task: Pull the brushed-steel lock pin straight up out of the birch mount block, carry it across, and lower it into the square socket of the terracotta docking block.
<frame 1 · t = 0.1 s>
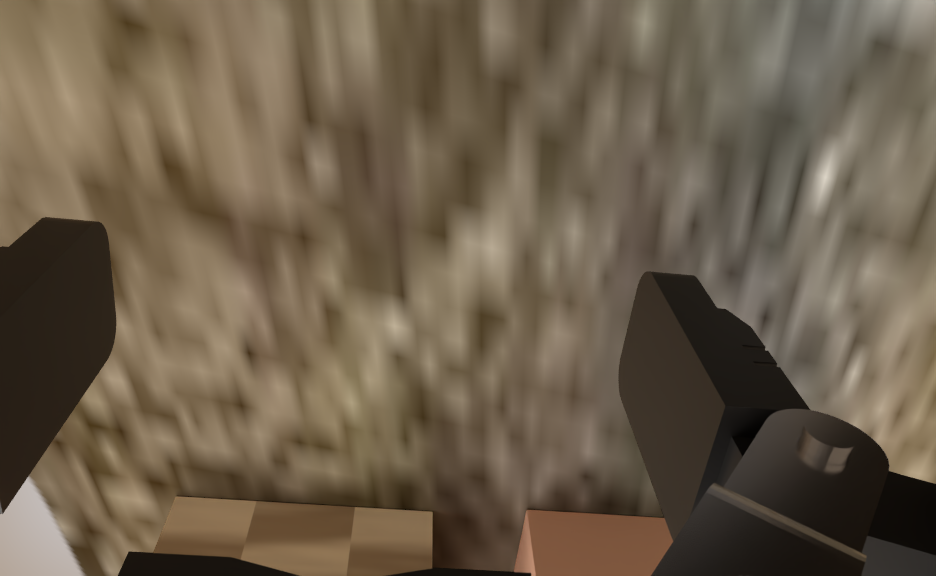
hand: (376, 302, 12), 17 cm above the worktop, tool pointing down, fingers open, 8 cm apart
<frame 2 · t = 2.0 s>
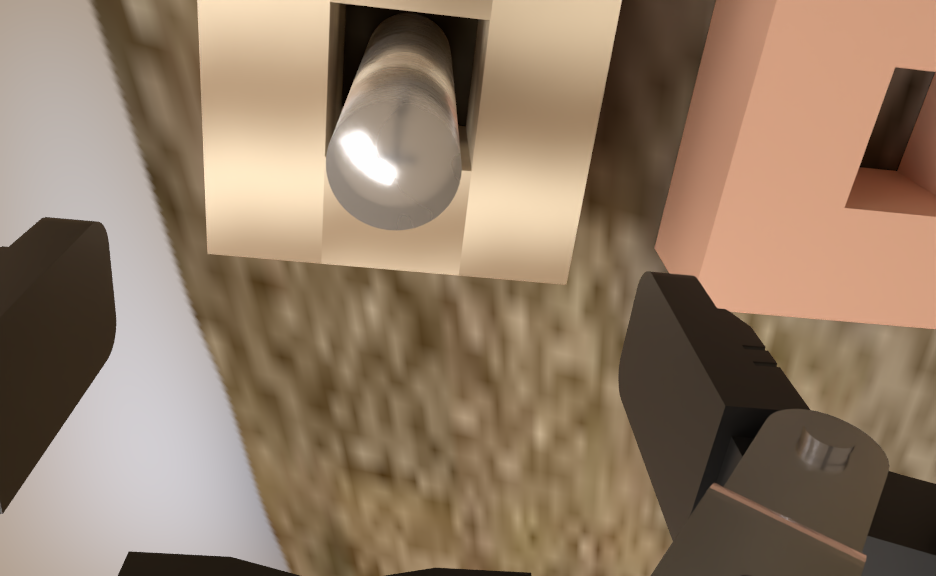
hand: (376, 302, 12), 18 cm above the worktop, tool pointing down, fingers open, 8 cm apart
lock pin: (403, 99, 23), in the mount block
mount block: (409, 56, 28), on the worktop
dock block: (861, 106, 30), on the worktop
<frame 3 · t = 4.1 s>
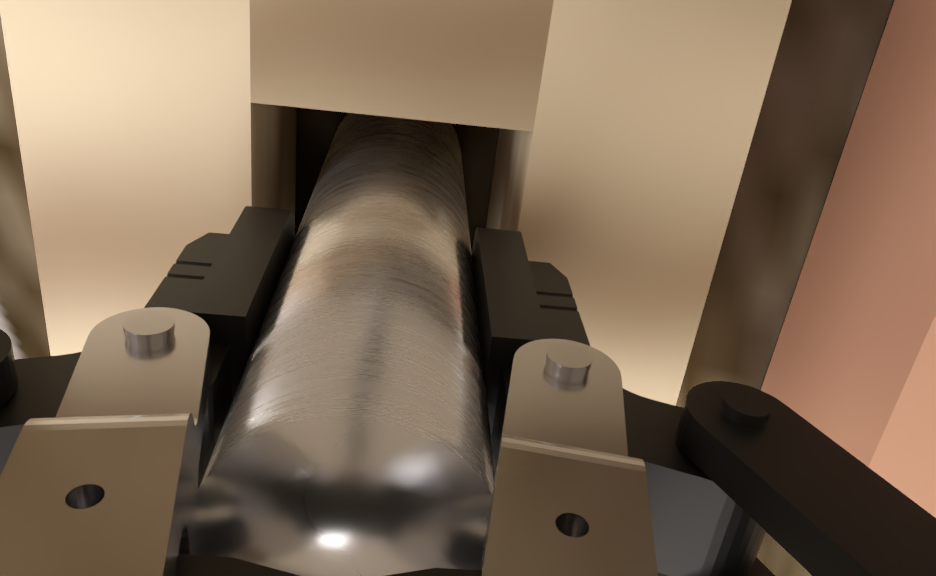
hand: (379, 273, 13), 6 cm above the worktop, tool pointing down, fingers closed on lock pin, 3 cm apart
lock pin: (382, 270, 13), in the mount block, touching gripper
mount block: (396, 157, 18), on the worktop
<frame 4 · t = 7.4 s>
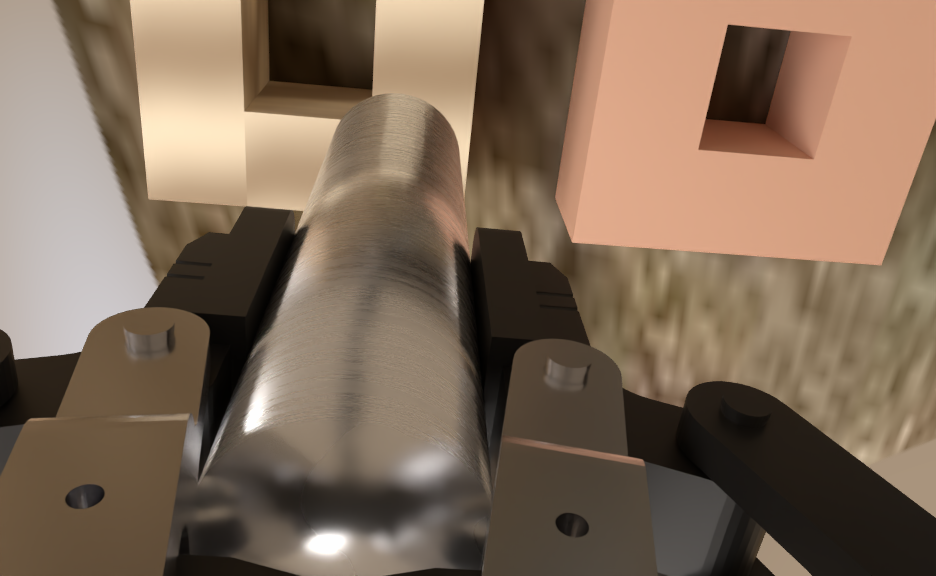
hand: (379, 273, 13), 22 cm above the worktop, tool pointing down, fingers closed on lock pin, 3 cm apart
lock pin: (380, 271, 13), point 22 cm above the worktop, touching gripper
mount block: (325, 29, 32), on the worktop
dock block: (727, 66, 34), on the worktop
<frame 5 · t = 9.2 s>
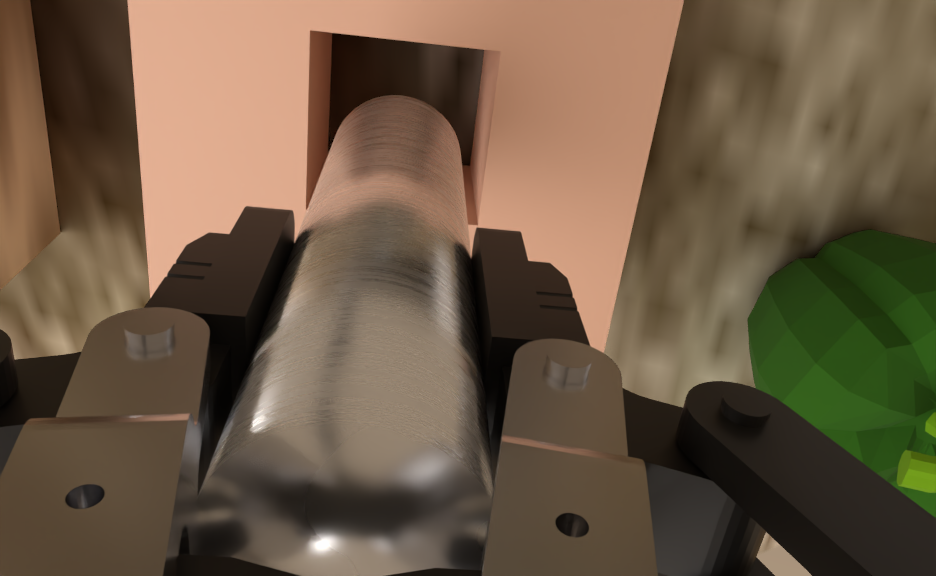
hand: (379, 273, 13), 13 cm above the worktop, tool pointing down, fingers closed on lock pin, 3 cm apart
lock pin: (382, 273, 13), point 13 cm above the worktop, touching gripper
bell pepper: (829, 296, 29), on the worktop
dock block: (405, 87, 24), on the worktop
when the fingers open (7 cm above the worktop, at t = 10.7 s): lock pin stays where it is, resting in dock block.
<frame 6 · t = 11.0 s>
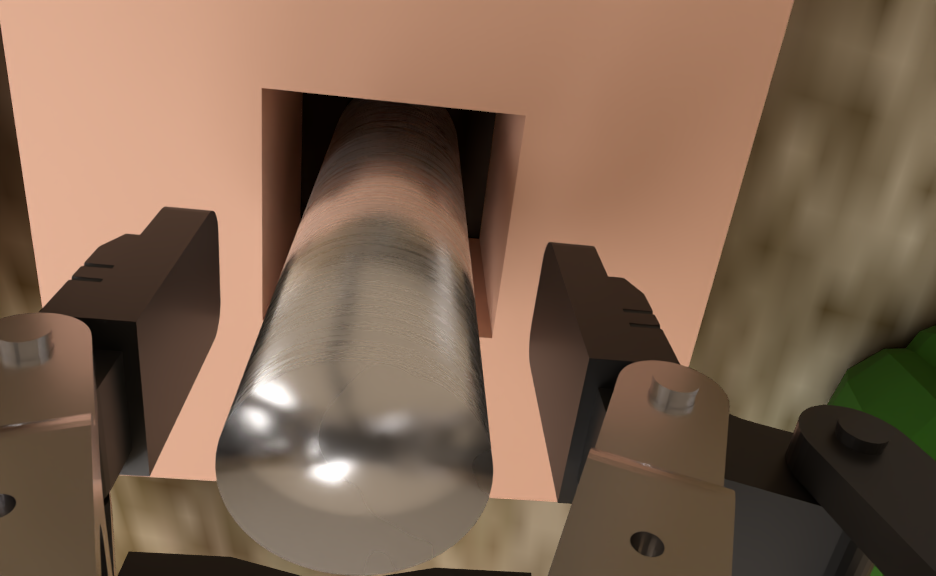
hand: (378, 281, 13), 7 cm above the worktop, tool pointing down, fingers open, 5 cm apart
lock pin: (383, 247, 14), in the dock block
bell pepper: (917, 389, 24), on the worktop
dock block: (397, 144, 19), on the worktop
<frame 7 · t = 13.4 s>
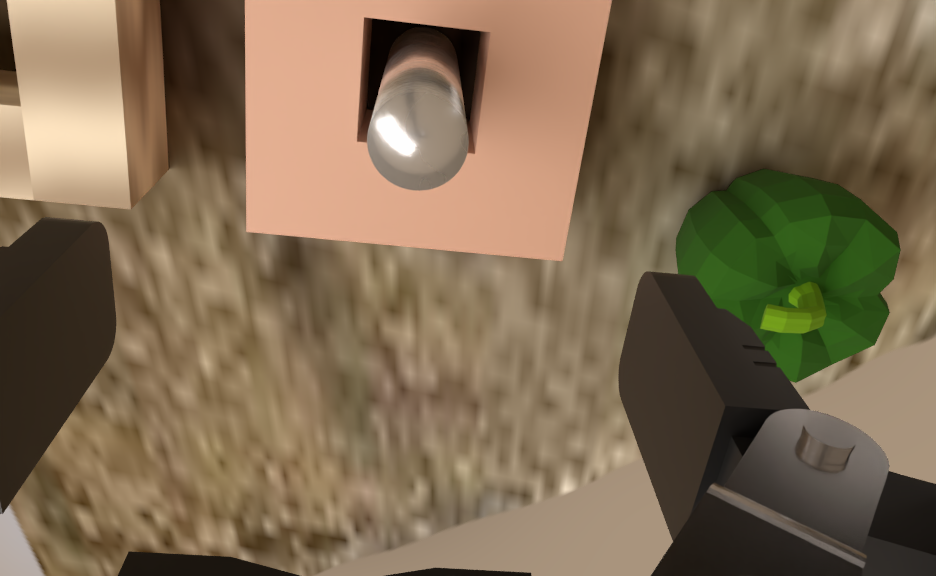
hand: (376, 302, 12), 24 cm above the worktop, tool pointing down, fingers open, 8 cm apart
lock pin: (420, 95, 29), in the dock block
mount block: (12, 15, 32), on the worktop
bell pepper: (740, 224, 38), on the worktop
dock block: (423, 62, 34), on the worktop
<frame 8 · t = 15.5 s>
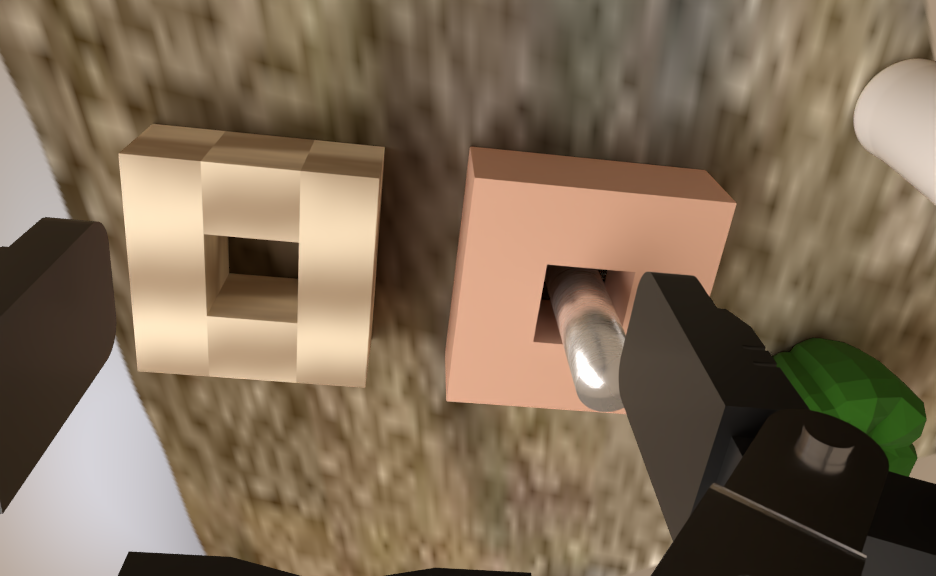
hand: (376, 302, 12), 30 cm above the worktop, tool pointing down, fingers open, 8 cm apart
lock pin: (586, 317, 40), in the dock block
mount block: (270, 239, 44), on the worktop
drinking glass: (896, 106, 42), on the worktop
bell pepper: (799, 371, 50), on the worktop
dock block: (568, 266, 45), on the worktop
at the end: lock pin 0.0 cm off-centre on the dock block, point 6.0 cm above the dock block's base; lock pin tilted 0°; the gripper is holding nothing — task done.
